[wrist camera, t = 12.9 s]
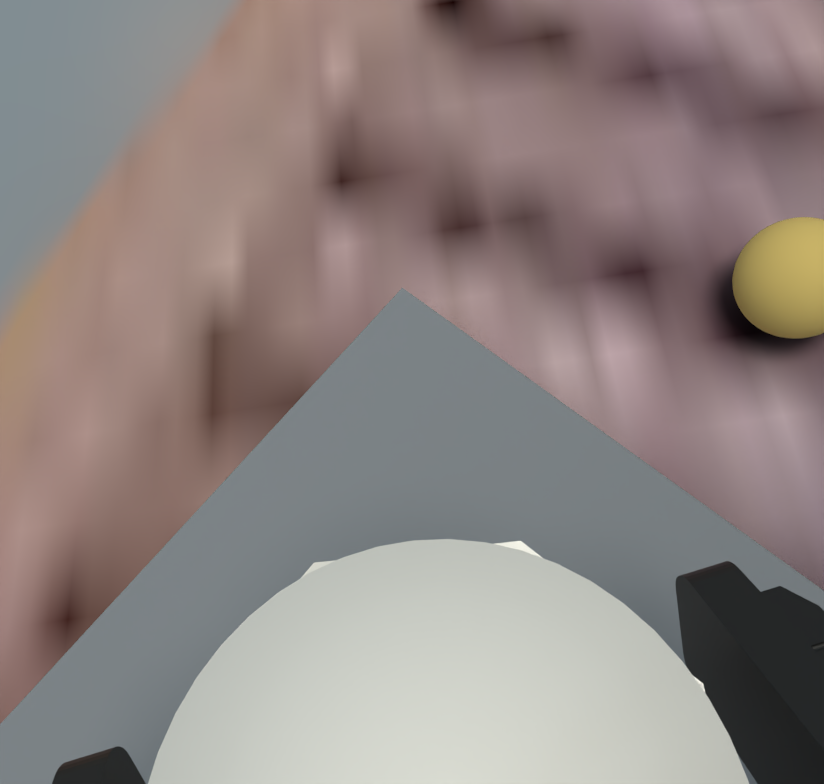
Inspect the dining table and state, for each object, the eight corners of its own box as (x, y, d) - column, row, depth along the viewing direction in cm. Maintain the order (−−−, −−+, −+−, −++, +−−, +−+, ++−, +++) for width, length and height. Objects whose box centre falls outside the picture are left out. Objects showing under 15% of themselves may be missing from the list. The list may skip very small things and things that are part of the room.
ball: (753, 238, 21) (800, 170, 18) (852, 297, 20) (917, 237, 17) (694, 314, 20) (733, 256, 17) (794, 378, 19) (852, 329, 16)
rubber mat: (403, 298, 21) (402, 288, 20) (954, 696, 17) (972, 697, 16) (-47, 790, 17) (-65, 794, 16) (516, 1471, 13) (519, 1506, 12)
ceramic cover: (431, 558, 18) (402, 431, 8) (640, 730, 16) (894, 813, 7) (264, 768, 16) (2, 900, 7) (474, 978, 15) (506, 1514, 5)
